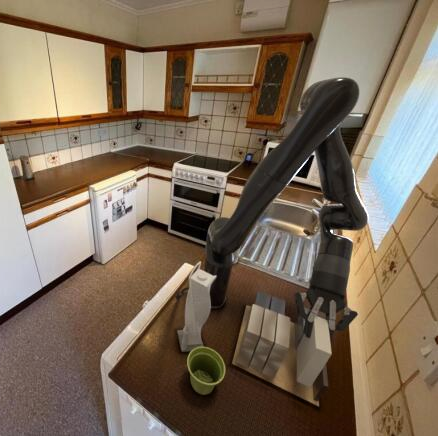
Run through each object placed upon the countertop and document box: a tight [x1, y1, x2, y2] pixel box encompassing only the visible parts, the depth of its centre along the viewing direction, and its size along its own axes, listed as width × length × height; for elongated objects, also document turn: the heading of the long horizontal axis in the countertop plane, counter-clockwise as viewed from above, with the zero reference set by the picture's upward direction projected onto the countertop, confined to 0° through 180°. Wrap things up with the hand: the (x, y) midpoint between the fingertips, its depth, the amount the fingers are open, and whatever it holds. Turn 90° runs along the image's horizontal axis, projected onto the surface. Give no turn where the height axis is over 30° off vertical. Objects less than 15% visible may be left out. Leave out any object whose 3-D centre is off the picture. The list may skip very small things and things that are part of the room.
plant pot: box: [186, 346, 226, 396], centre depth 62 cm, size 9×9×9 cm
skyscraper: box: [176, 260, 217, 353], centre depth 69 cm, size 8×8×28 cm
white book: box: [297, 316, 332, 387], centre depth 60 cm, size 3×10×14 cm, turn 151°
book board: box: [231, 290, 329, 407], centre depth 69 cm, size 21×24×15 cm
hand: (316, 340), depth 59 cm, fingers closed on white book, 3 cm apart
